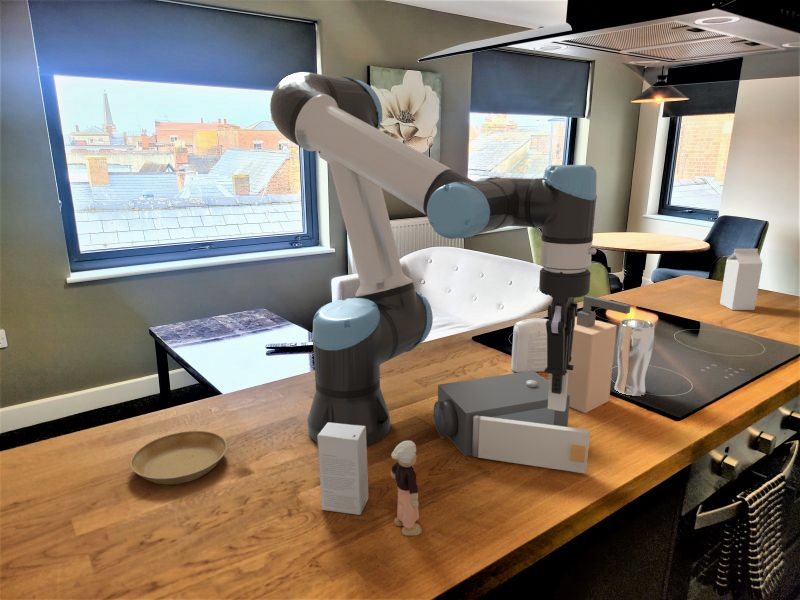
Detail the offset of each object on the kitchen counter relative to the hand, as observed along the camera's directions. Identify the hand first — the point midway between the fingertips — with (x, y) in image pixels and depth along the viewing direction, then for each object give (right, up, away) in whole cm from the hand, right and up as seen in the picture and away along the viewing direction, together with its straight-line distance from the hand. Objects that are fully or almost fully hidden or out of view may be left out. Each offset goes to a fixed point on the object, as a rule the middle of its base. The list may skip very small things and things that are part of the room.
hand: (556, 408), depth 91 cm
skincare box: (-34, -12, -11) cm, 37 cm away
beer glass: (+23, -2, +26) cm, 35 cm away
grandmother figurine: (-25, -13, -15) cm, 32 cm away
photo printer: (+5, +1, +38) cm, 38 cm away
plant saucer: (-62, -10, 0) cm, 62 cm away
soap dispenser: (+12, -3, +21) cm, 24 cm away
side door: (-5, -9, -2) cm, 10 cm away
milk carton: (+82, +15, +86) cm, 120 cm away
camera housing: (-8, -6, +10) cm, 14 cm away
